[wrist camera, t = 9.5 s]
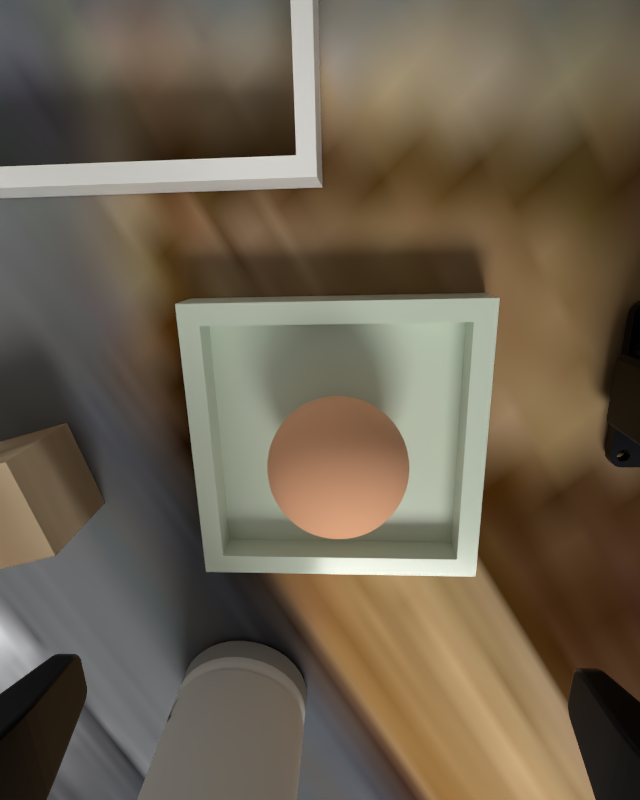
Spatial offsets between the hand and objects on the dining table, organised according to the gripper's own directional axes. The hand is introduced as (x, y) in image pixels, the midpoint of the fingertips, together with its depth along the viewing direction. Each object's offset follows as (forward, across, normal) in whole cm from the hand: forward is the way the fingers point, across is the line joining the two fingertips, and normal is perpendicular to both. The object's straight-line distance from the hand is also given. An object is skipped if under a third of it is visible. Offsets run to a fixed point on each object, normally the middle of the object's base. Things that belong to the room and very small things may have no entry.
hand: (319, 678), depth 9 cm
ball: (+11, 0, 0) cm, 11 cm away
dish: (+12, 0, 0) cm, 12 cm away
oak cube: (+12, +13, +2) cm, 18 cm away
